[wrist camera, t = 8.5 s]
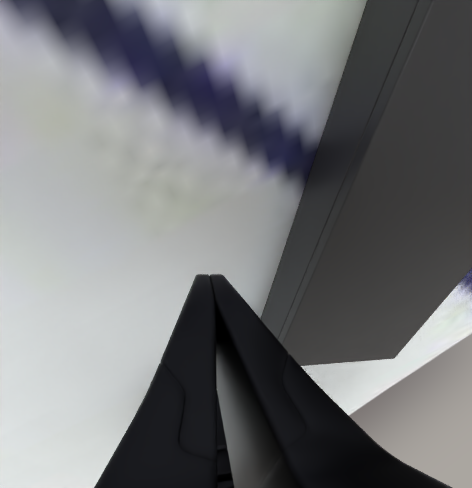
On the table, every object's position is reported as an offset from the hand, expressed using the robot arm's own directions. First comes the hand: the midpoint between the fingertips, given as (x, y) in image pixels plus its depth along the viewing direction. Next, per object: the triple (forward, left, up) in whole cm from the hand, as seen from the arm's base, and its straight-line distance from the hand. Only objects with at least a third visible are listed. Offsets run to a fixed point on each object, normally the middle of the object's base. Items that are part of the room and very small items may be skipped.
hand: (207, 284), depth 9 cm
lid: (0, -10, -6) cm, 12 cm away
